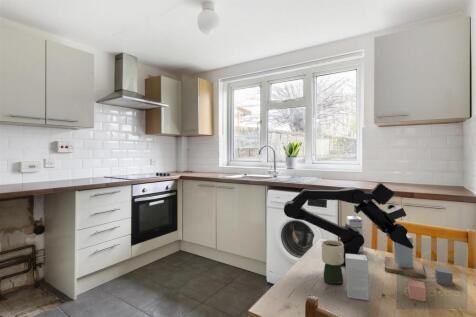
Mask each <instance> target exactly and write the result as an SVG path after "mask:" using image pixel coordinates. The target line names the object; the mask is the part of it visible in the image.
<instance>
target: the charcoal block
mask: <svg viewBox="0 0 476 317" xmlns="http://www.w3.org/2000/svg"><path fill="white" fill-rule="evenodd" d="M434 279H435V282H436V284H440V285H445V286H451V287H453V284H454V283H453V279H454V278H453V272H452V271H451V268H447V267H439V266H434Z"/></svg>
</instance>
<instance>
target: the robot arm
mask: <svg viewBox="0 0 476 317" xmlns="http://www.w3.org/2000/svg"><path fill="white" fill-rule="evenodd" d="M395 196H396V193H395V192H394V191H393V190H392V189H390V188H389V187H387V186H385V185H384V184H383V183H381V182H378V183H377V184H376V185H375V187H374V188H372V190H370V191H368V190H367V191H366V190H361V189H359V188H358V187H356V186H355V187H354V186H351V187H345V188H341V189H308V188H304V189H302V190H301V191H300V192H299V193H298V194H297V195H296V196H295V197H294V198H292V200H288V201H286V202H285V204H284V206H283V212H284V215H285V216H286V217H287V218H291V219H295V220H298V221H304V222H307V223H309V224H310V225H313V226H314V227H317V228H319V229H322V230H324V231H325V232H328V233H331V234H333V235H334V236H338V237H339V240H338V241H339V242H342V243H343V244H344V263H343V264H341V265H340V266H341V267H345V268H346V260H345V254H356V255H361V253H360V251H359V249H360V247H361V246H363V247H364V244H365V238H364V235H363V236H362V235H361V234H360V232H359V231H358V230H357V228H356V227H352V226H350V225H348V224H347V222H346V223H345V225H339V224H337V223H335V222H333V221H331V220H330V219H329V220H328V219H326V218H324V217H322V216H319V215H317V214H315V213H313V212H311V211H309V210H307V209H305V208H304V207H303V206H304V205H305V204H306V203H307V202H308V201H309V200H311V201H312V200H314V201H317V200H318V201H340V202H345V203H350V204H354V205H353V208H354V209H353V211H354V213H355V214H359V213H360V212H361V213H363V215H365V217H366V218H368V220H370V221H371V222H372V223H373V224H374V226H375V227H376V228H377V229H378V230H380V232H382V233H384V234H386V236H387V237H388V238H389V239H390V240H391V241H392V242H393V243H394V242H395V243H398V244H401V245H403V246H406V247H408V248H410V249H412V248H413V249H414V248H415V246H414V244H413V245H412V243H413V242H412V243H411V242H410V241H409V239H408V238H407V236H406V234H408V231H409V230H408V229H407V228H406V227H405V226H404V225H402V224H401V223H396V222H397V221H396V220H397V219H400V218H404V217H407V213H406V211H405V209H404V206H401V205H394V204H391V203H390V204H387V203H388V202H389V201H390V200H391V199H393V198H394V197H395ZM386 204H387V209H386V210H384V209H381V207H380V206H381V205H382V206H386ZM378 205H379V206H378Z"/></svg>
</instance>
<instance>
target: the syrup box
mask: <svg viewBox="0 0 476 317" xmlns="http://www.w3.org/2000/svg"><path fill="white" fill-rule="evenodd" d="M346 223H347V224H348V225H350V226H352V227H356V228H357V230H358V231H359V232H360V234H361V235H362V236H363V237H364V233H363V232H364V231H363V230H364V229H363V219H362V218H361V217H360V216H358V215H357V216H356V215H350V216H349V215H347V216H346ZM359 252H364V245H363V246H361V247H360V249H359Z"/></svg>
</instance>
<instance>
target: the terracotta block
mask: <svg viewBox="0 0 476 317" xmlns="http://www.w3.org/2000/svg"><path fill="white" fill-rule="evenodd" d="M407 291H408V292H407V293H408V299H412V300H415V301H421V302H424V301H425V303H426V302H427V300H426V298H427V297H426V294H427V293H426V292H427V291H426V285H425V282H424V281H418V280H414V279H407Z"/></svg>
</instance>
